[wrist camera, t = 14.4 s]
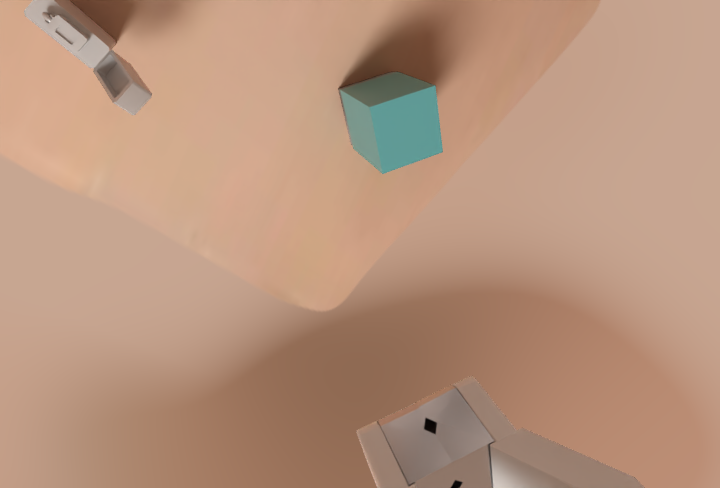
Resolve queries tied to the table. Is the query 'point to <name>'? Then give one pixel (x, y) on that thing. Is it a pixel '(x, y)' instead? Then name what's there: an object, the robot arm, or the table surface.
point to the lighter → (91, 50)
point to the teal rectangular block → (393, 120)
